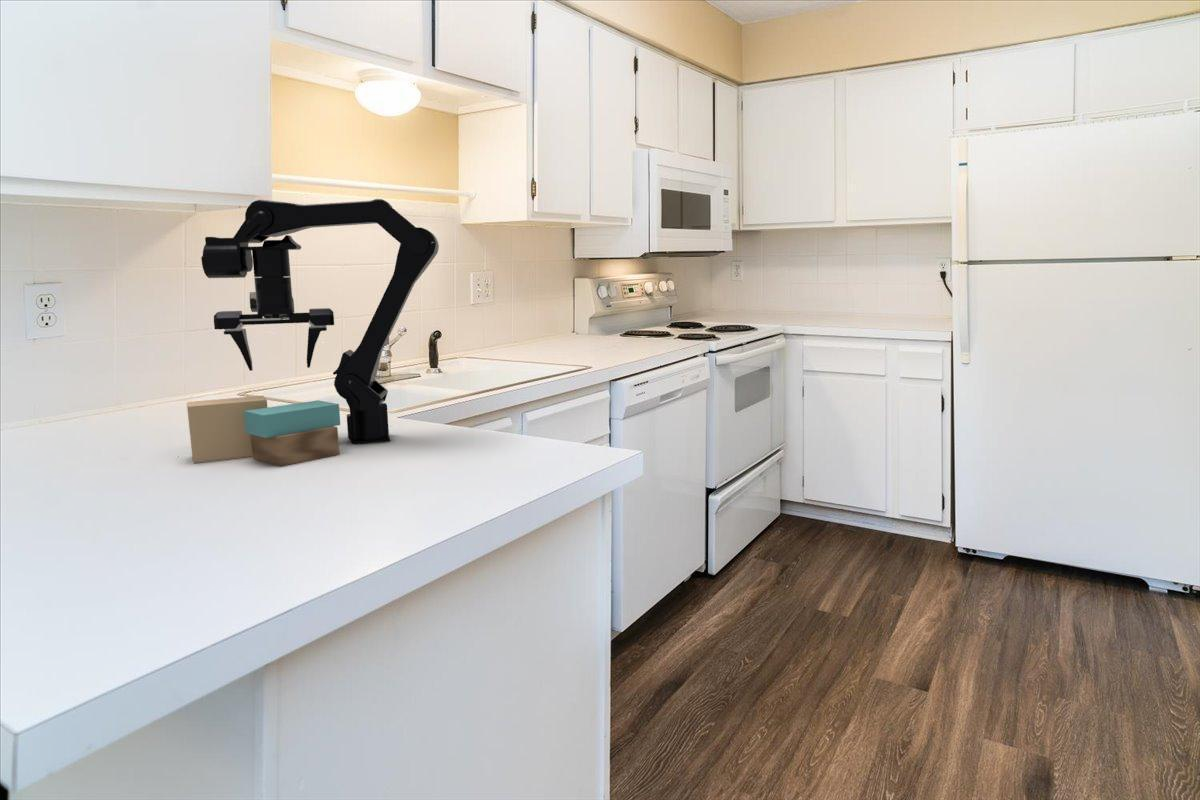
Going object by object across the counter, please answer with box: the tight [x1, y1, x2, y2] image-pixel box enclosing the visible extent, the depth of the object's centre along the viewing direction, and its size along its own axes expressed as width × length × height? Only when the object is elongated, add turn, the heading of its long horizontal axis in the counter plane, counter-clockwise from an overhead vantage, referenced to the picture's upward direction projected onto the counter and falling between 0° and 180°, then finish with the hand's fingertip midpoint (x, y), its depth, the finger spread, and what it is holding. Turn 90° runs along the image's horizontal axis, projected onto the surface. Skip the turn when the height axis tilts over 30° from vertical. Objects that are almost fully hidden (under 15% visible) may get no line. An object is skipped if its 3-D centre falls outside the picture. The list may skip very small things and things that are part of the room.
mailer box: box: [186, 395, 268, 464], centre depth 128 cm, size 11×5×9 cm, turn 119°
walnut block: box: [251, 426, 340, 467], centre depth 127 cm, size 10×9×4 cm
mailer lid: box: [244, 399, 341, 438], centre depth 126 cm, size 13×7×4 cm, turn 139°
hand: (280, 368), depth 135 cm, fingers open, 9 cm apart
